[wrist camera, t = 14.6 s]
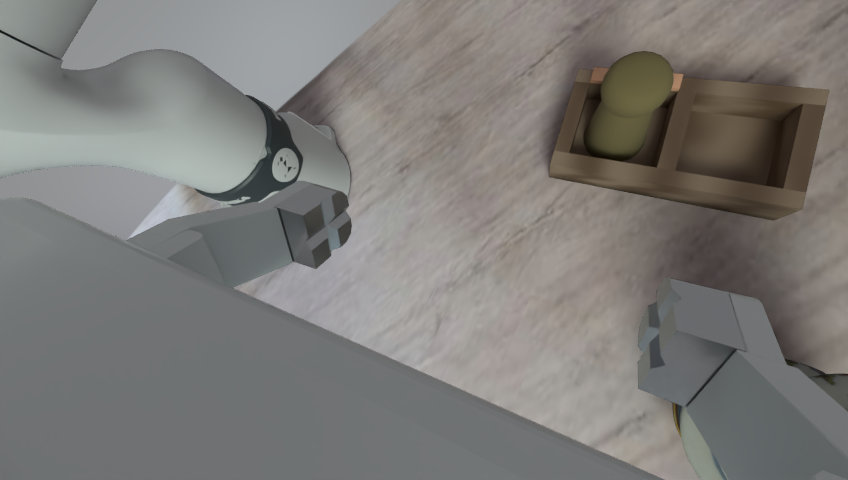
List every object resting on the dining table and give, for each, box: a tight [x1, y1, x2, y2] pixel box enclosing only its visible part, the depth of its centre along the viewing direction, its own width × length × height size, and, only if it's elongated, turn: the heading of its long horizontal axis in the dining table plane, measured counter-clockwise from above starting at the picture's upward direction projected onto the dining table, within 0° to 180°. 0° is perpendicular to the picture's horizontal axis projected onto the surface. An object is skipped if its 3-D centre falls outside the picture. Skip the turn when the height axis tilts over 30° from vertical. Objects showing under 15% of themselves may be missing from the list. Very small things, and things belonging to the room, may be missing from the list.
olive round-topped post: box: [584, 51, 674, 162], centre depth 33 cm, size 6×6×11 cm
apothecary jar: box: [673, 359, 848, 480], centre depth 22 cm, size 12×12×18 cm
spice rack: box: [549, 67, 829, 220], centre depth 35 cm, size 20×11×4 cm, turn 72°
